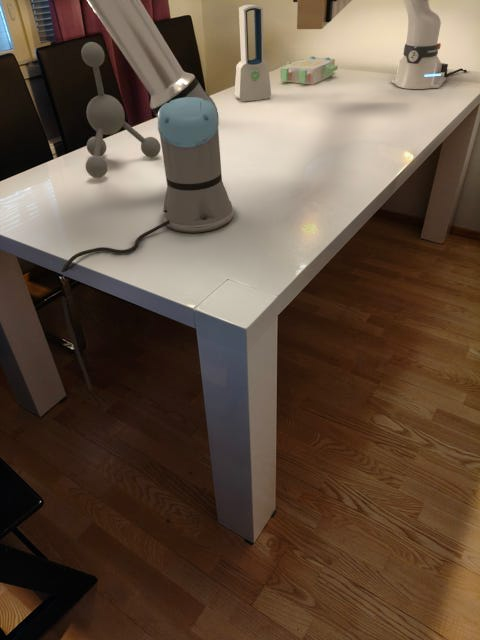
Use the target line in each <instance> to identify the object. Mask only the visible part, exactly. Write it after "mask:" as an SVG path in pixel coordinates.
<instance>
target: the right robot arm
mask: <svg viewBox="0 0 480 640" xmlns="http://www.w3.org/2000/svg"><path fill="white" fill-rule="evenodd" d="M401 2H402V3H403V5H404V7H405V9H406V13H407V20H408V21H407V22H408V23H407V35H406V42H405V44H404V47H403V53H402V54H403V57H402V58H400V60H399V62H398V66H397V71H396V75H395V79H392V80H391V83H392V84H394V85H395V86H396V87H398V88H402V89H407V90H408V89H409V90H427V89H438V88H440V87H441V86H442V85H443V84H444V83H445V82H446V80H447V77H448V76H452V75H454V74H457V73H459V72H463V73H468V71H467V69H465V70H463V69H462V68H459V69H456V70H454V71H451V72H448V67H449V64H448V63H443V62H441V60H440V58H439V57H438V55H439V50H440V49H441V43H440V42H438V41H439V36H440V32H441V31H440V30H441V25H442V24H441V23H442V22H441V17H440V16H439V15H438V14H437V13H436V12H435V11H433V10H432V9H431V8H430V3H429V2H430V0H401ZM442 73H444V74H443V75H442Z"/></svg>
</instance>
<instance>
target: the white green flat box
mask: <svg viewBox="0 0 480 640" xmlns="http://www.w3.org/2000/svg"><path fill="white" fill-rule="evenodd" d="M285 63H286V64H285V65H283V67H282V68H280V82H287V83H296V84H304V85H316V84H317V83H320V82H322V81H324V80H326V79H329V78H331V77H332V75H333V74H335V72H336V71H337V70H338V65H336V58H330V57H315V56H310V57H308V58H305V59H299V60H296V61H293V62H291V61H286V62H285Z"/></svg>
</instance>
